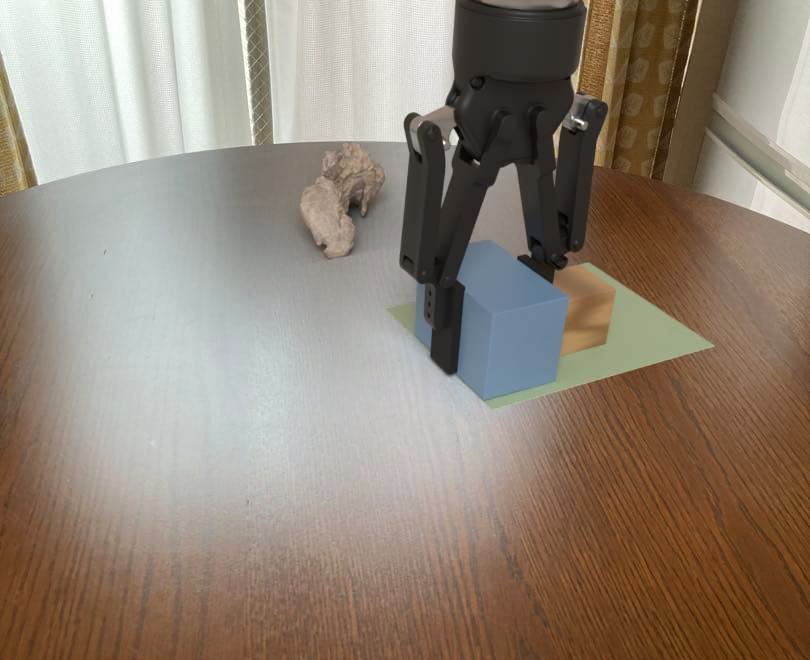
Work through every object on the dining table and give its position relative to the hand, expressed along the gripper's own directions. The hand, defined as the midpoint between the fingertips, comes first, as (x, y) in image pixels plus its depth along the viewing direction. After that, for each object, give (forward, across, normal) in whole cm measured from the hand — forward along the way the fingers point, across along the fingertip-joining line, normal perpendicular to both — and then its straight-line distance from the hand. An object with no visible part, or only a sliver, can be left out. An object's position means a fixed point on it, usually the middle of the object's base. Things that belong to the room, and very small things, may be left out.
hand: (483, 354), depth 67 cm
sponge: (0, 0, 0) cm, 0 cm away
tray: (+1, -7, -2) cm, 7 cm away
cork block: (0, -7, 0) cm, 7 cm away
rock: (+2, -2, -28) cm, 28 cm away
